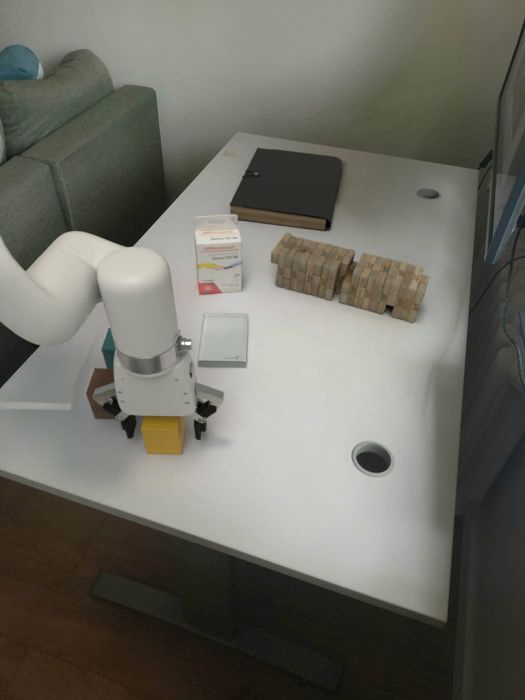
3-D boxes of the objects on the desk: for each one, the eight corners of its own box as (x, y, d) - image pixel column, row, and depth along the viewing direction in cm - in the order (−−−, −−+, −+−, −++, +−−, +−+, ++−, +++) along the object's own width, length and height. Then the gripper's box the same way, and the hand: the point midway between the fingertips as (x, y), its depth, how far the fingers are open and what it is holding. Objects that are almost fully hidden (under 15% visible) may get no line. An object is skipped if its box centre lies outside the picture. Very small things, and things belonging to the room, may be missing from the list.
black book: (256, 146, 137) (343, 156, 135) (256, 160, 140) (341, 171, 138) (228, 203, 114) (332, 217, 112) (228, 219, 117) (329, 233, 115)
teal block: (108, 374, 81) (101, 349, 77) (115, 353, 85) (108, 327, 81) (138, 375, 81) (133, 350, 77) (144, 354, 85) (139, 328, 81)
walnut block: (94, 418, 75) (85, 393, 71) (102, 393, 79) (94, 367, 74) (127, 419, 75) (120, 394, 71) (134, 394, 79) (127, 368, 74)
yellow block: (146, 454, 71) (140, 429, 67) (152, 425, 74) (147, 400, 70) (181, 454, 71) (177, 430, 67) (186, 426, 74) (182, 401, 70)
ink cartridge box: (199, 296, 97) (193, 229, 86) (197, 280, 100) (191, 215, 90) (242, 292, 98) (242, 226, 87) (239, 277, 101) (238, 212, 91)
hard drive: (246, 361, 82) (248, 312, 91) (197, 360, 82) (203, 311, 91) (246, 368, 83) (248, 319, 92) (197, 367, 83) (204, 318, 92)
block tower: (419, 303, 98) (282, 263, 105) (432, 268, 92) (286, 228, 99) (412, 327, 93) (268, 284, 99) (425, 292, 87) (271, 248, 93)
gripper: (223, 327, 62) (227, 411, 74) (84, 324, 62) (111, 409, 74) (218, 371, 56) (224, 454, 68) (67, 368, 56) (99, 452, 68)
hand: (165, 431), depth 71 cm, fingers open, 9 cm apart
